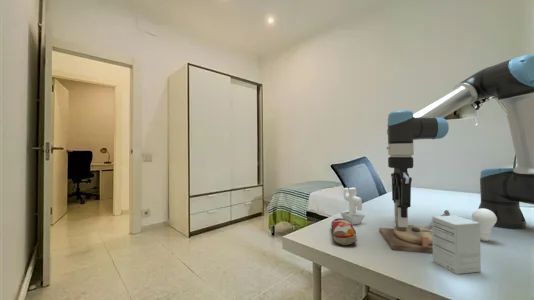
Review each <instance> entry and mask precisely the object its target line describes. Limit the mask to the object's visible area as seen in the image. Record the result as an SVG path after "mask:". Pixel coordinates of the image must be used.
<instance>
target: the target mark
mask: <svg viewBox="0 0 534 300" xmlns="http://www.w3.org/2000/svg"><path fill="white" fill-rule="evenodd" d="M422 246H423V247H428V237H427V236H422Z"/></svg>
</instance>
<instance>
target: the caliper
mask: <svg viewBox="0 0 534 300" xmlns="http://www.w3.org/2000/svg"><path fill="white" fill-rule="evenodd" d="M440 216H451V213H450V212H449V209H445V210H444V211H443V214H441V215H440ZM424 227H426V228H429V229H432V222H430V223H429V224H427V225H425V226H424Z"/></svg>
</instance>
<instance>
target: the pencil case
mask: <svg viewBox="0 0 534 300" xmlns="http://www.w3.org/2000/svg"><path fill="white" fill-rule="evenodd" d="M330 226H331V230H332V235H333V240H334V242H335V243H336V244H338V245H342V246H348V245H350V244H351V245H352V244H354V243H356V242H357V241H358V238H357V231H356V230H355V228H354V226H353V225H352V223H351V222H350V221H349V220H346V219H343V217H342V218H341V217H340V218H338V217H337V218H335V219H334V220H333V221H331V225H330Z"/></svg>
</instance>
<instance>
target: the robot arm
mask: <svg viewBox="0 0 534 300" xmlns="http://www.w3.org/2000/svg"><path fill="white" fill-rule="evenodd" d="M491 97H496V98H497V101H498V102H500V103H502V104H504V107H505V111H506V112H505V113H506V117H507V121H508V124H509V131H510V135H511V141H512V144H513V149H514V150H513V151H514V155H515V158H516V162H517V166H516V167H506V168H484V169H482V170H481V171H480V177H479V183H480V184H479V185H480V191H479V192H480V203H479V205H478V208H477V209H480V208H484V209H488V210H490V211H492V212H493V213H494V214H495V215H496V217H497V221H496V223H495V225H494V226H493V227H496V228H505V229H515V230H517V229H520V230H521V229H525V228H527V221H526V219H525V215H524V214H523V212H522V210H521V208H520V207H521V206H520V203H522V204H529V205H532V206H533V205H534V54H533V53H532V54H531V53H529V54H525V55H521V56H516V57H514V58H511V59H508V60H506V61H502V62H500V63H497V64H494V65H491V66H487V67H485V68H482V69H480V70H479V71H477V72H475V73H473V74H471V75H470V76H469V77H467V78H466V79H464V80H463V81H461V82H459V83H458V84H456V85H455V86H454V87H453V88H452V90H451V91H449V92H447V93H445V94H444V95H442V96H440V97H438V98H437V99H436V100H434V101H432V102H430V103H429V104H427V105H426V106H424V107H422V108H421V109H419V110H417V111H415V112H413V111H412V110H408V109H407V110H404V109H402V110H394V111H391V112H389V113H388V117H387V124H386V127H387V131H386V134H387V144H388V146H386V150H387V151H388V152H387V153H388V154H387V155H388V158H387V163H388V164H387V165H388V166H387V167H388V168H391V169H393V172H392V173H391V174H390V177H391V192H392V193H391V195H392V197H391V199H392V201H393V204H394V208H393V209H394V223H395V224H396V204H395V200H399V206H397V207H398V226H399V227H408V225H409V217H408V216H409V213H408V212H409V208H411V206H412V205H411V204H412V203H411V202H412V201H411V198H412V195H411V194H412V189H411V188H412V180H413V178H412V177H410V174H409V172H408V169H413V168H414V158H413V157H412V156H414V141H415V140H440V139H443V138H444V137H446V136H447V135H448V132H449V128H450V127H449V122H448V121H447V119H445V118H446V117H447V116H449V115H450V114H452V113H454V112H456V111H457V110H459V109H460V108H462V107H463V106H465V105H473V103H475V102H478V101H479V100H482V99H483V100H484V99H486V98H491Z"/></svg>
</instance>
